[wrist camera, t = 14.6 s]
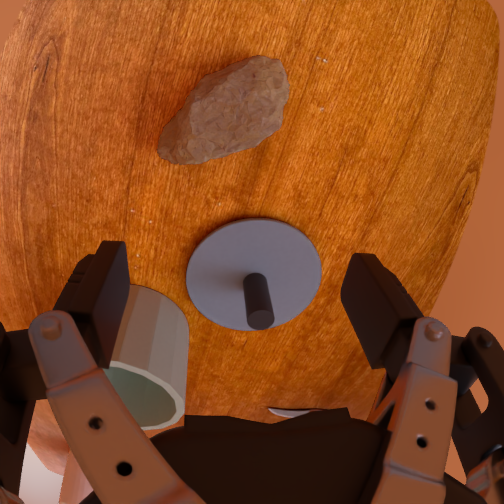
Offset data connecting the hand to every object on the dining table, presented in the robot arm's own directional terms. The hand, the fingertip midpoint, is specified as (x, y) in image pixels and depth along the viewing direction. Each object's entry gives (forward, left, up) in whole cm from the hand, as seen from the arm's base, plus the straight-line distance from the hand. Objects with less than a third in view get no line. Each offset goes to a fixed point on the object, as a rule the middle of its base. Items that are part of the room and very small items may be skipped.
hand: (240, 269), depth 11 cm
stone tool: (-1, +3, -18) cm, 18 cm away
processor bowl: (-10, -21, -17) cm, 29 cm away
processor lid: (+3, -13, -17) cm, 21 cm away
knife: (+14, -41, -17) cm, 46 cm away
